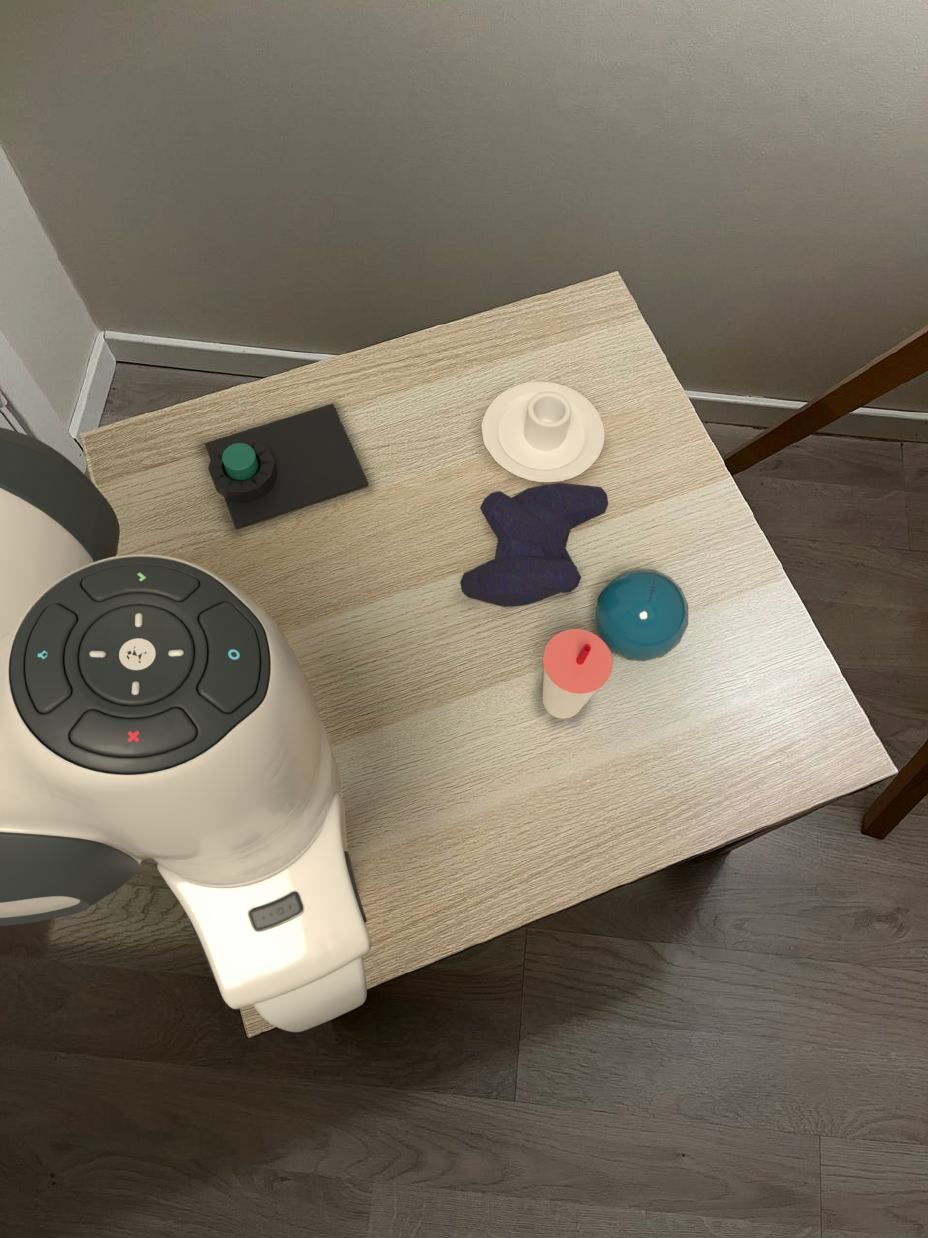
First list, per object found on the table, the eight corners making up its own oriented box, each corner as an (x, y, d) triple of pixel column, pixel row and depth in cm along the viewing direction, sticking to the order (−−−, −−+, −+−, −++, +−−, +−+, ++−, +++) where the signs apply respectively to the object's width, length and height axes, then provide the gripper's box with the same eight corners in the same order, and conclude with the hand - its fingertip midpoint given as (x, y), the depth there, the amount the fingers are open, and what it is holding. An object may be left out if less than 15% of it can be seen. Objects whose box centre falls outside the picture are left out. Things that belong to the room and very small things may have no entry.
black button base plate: (231, 531, 84) (226, 518, 81) (201, 447, 87) (195, 432, 85) (368, 486, 86) (366, 472, 84) (333, 406, 90) (331, 391, 88)
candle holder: (458, 445, 88) (459, 418, 84) (525, 367, 93) (529, 337, 89) (561, 507, 86) (568, 482, 82) (625, 424, 90) (634, 396, 86)
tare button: (231, 484, 83) (227, 474, 82) (221, 459, 84) (217, 448, 83) (262, 474, 84) (259, 463, 82) (252, 449, 85) (249, 438, 83)
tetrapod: (431, 592, 81) (466, 543, 70) (482, 488, 85) (521, 428, 75) (542, 650, 82) (592, 610, 72) (585, 544, 87) (638, 492, 76)
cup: (599, 724, 77) (627, 673, 66) (538, 734, 76) (556, 683, 66) (585, 666, 79) (610, 607, 68) (525, 675, 79) (541, 617, 68)
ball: (576, 659, 79) (591, 621, 72) (599, 582, 83) (615, 539, 75) (665, 687, 79) (689, 651, 71) (684, 608, 82) (709, 566, 75)
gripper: (113, 616, 44) (184, 710, 56) (237, 1049, 36) (286, 1045, 49) (240, 574, 45) (281, 674, 57) (385, 983, 37) (396, 996, 50)
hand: (284, 847), depth 53 cm, fingers open, 8 cm apart
